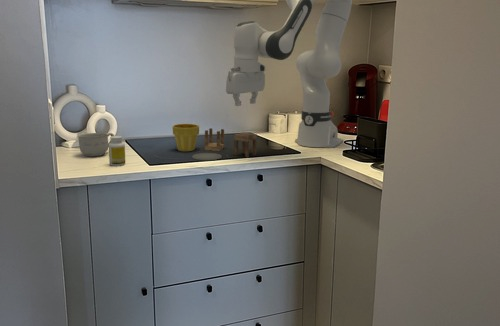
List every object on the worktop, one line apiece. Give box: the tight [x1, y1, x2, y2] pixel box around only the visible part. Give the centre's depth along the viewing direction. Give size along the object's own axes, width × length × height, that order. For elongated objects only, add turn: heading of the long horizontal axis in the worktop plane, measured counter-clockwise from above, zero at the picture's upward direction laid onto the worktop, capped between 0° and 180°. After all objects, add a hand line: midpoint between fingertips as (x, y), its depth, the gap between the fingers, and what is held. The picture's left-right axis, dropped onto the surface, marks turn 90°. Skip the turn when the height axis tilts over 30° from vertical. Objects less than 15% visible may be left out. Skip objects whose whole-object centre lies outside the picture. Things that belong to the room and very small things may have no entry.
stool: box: [233, 132, 258, 158], centre depth 191 cm, size 6×6×8 cm
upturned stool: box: [204, 127, 225, 152], centre depth 201 cm, size 6×6×8 cm
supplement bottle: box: [108, 135, 126, 167], centre depth 174 cm, size 5×5×10 cm
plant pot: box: [172, 123, 200, 152], centre depth 199 cm, size 10×10×10 cm
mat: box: [191, 152, 223, 162], centre depth 187 cm, size 11×11×1 cm
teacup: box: [77, 132, 115, 157], centre depth 189 cm, size 14×11×8 cm
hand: (245, 104), depth 187 cm, fingers open, 8 cm apart
